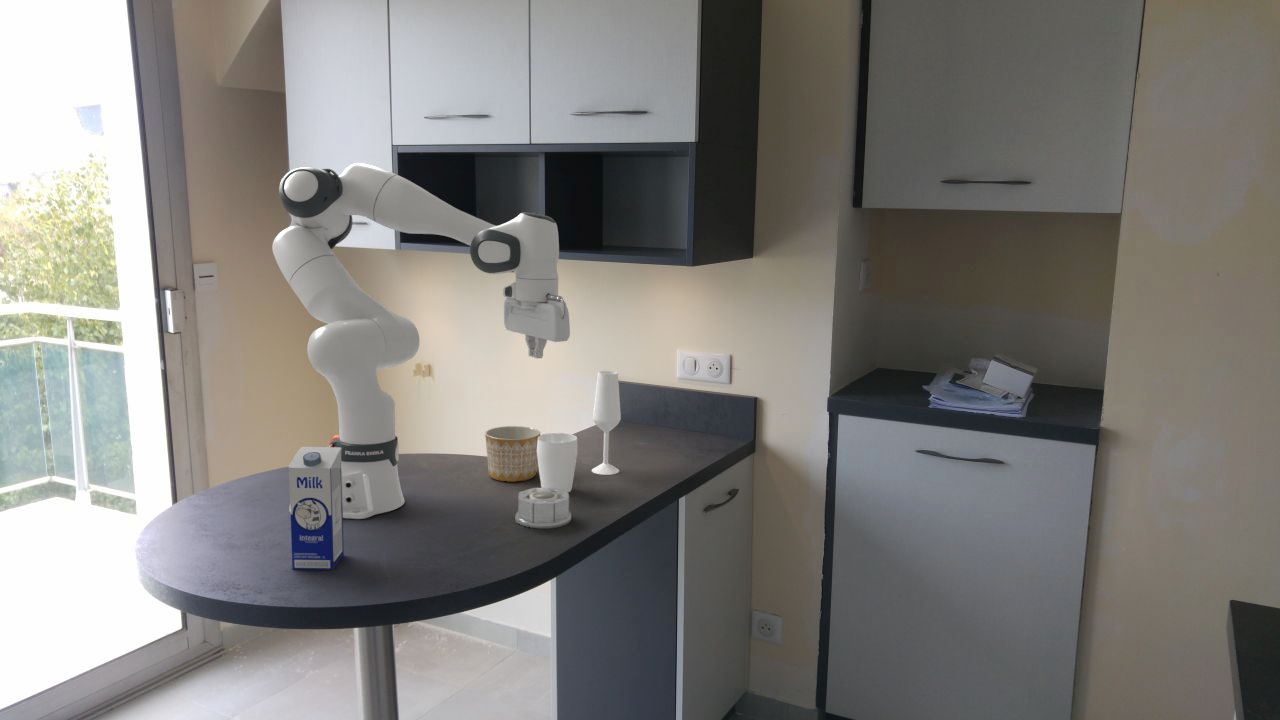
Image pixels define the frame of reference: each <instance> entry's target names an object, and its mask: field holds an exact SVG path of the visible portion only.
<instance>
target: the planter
mask: <svg viewBox="0 0 1280 720" xmlns="http://www.w3.org/2000/svg"><path fill="white" fill-rule="evenodd" d="M484 434H485V435H484V436H485V444H486V445H485V446H486V457H487V467H488V468H487V470H488V475H489V476H490V477H491V479H494V480H495V481H499V482H504V481H507V483H514V482H515V483H517V482H518V481H519V482H525V481H528V480H530V479H533V478H534V477H535V476H536V474H537V470H538V469H537V468H538V458H537V441H538V436H540V435H541V431H540V430H538V429H536V428H533V427H528V426H521V425H520V426H519V425H505V426H504V425H503V426H497V427H492V428H490V429H488V430H486V431H485V432H484ZM516 481H517V482H516Z"/></svg>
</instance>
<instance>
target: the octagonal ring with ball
mask: <svg viewBox="0 0 1280 720" xmlns="http://www.w3.org/2000/svg"><path fill="white" fill-rule="evenodd" d="M538 491H549V492H554V493H556V494H557V499H556V500H553V501H535V500H531V499H530V494H531V493H534V492H538ZM569 493H570V492H566V491H563V490H560V489H556V488H541V487H532V488H529V489H528V488H527V489H526V490H522V491H519V492H518V501H517V502H518V506H517V508H518V510H517V511H516V512H515V518H514V519H515V523H516V524H518V523H519V524H520V526H521V525H522V527H524V526H526V527H525V528H528V527H530V528H529V529H534V528H535V529H536V530H549V529H550V530H551V529H557V528H562V527H564V526H566V525H568V524H570V523H571V522H572V513H571V511H570V494H569ZM519 524H518V525H519ZM535 529H534V530H535Z"/></svg>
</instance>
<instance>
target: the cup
mask: <svg viewBox="0 0 1280 720" xmlns="http://www.w3.org/2000/svg"><path fill="white" fill-rule="evenodd" d="M578 453H579V452H578V437H577V436H576V435H574V434H572V433H571V434H570V433H564V432H562V433H561V432H550V433H544V434H540V436H538V441H537V458H538V461H537V467H538V473H539V479H540V488H556V489H560V490H563V491H566V492H568V493H570V492H571V491H572V488H573V481H574V477H575V469H576V463H577V458H578Z"/></svg>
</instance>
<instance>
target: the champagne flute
mask: <svg viewBox="0 0 1280 720" xmlns="http://www.w3.org/2000/svg"><path fill="white" fill-rule="evenodd" d="M619 385H620V384H619V372H618V371H615V370H599V371H598V372H597V377H596V385H595V393H594V394H595V395H594V401H593V411H592V420H593V422H594V424H595V426H597V427H598V428H599V429H600V430H601V431H602V432H603V453H602V454H603V456H602V457H603V460H602V463H600V464H599V465H597V466H595V467H593V468H592V469H591V472H592V473H593V474H597V475H601V476H603V475H605V476H607V475H615V474H618V473H619V472H620V470H619V469H618V468H616V466H614V465H612V464H611V463H609V441H610V439H609V438H610V432H611V431H612V430H614V428H615V427H617V426H618V424H619V423H620V422H621V419H622V414H621V400H620V386H619Z"/></svg>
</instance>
